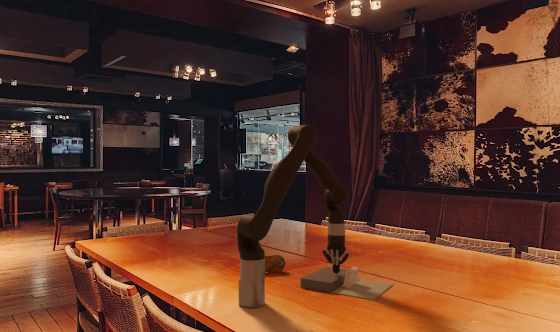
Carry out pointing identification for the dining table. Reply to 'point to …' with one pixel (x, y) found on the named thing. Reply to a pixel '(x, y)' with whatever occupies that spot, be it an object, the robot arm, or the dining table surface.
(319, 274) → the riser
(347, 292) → the mat
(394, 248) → the dining table surface
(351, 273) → the tile
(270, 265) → the tin
